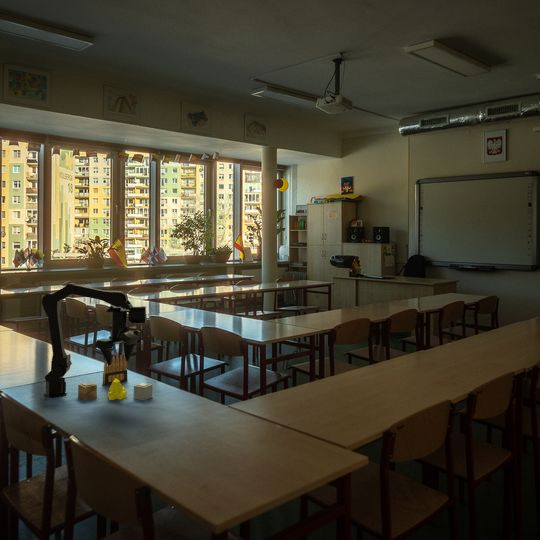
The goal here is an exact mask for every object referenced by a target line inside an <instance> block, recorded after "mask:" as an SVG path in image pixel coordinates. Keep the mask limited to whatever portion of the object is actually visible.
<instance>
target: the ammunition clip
mask: <svg viewBox="0 0 540 540" xmlns="http://www.w3.org/2000/svg"><path fill="white" fill-rule="evenodd" d="M119 356H120V357H119ZM127 363H128V361H126V359H125V353H124V355H122V354H120V355H118V354H117V355H116V358H115V355H112V357H111V365H108V364H107V362H106V359H105V358H104V364H103V374H102V383H101V384H102V386H105V387H106V386H111V384H112V382H113V381H114V380H115V379H118V380H119V381H120V384H123V383H127V382H128V365H127Z"/></svg>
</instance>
